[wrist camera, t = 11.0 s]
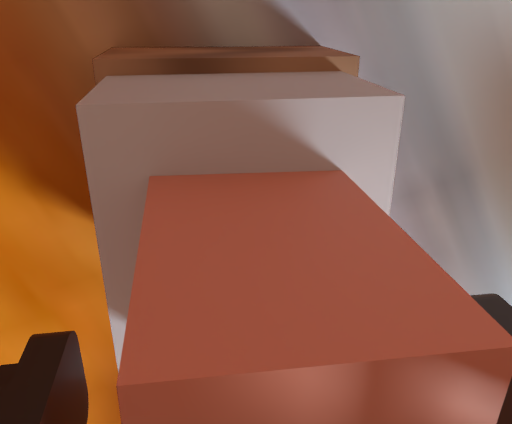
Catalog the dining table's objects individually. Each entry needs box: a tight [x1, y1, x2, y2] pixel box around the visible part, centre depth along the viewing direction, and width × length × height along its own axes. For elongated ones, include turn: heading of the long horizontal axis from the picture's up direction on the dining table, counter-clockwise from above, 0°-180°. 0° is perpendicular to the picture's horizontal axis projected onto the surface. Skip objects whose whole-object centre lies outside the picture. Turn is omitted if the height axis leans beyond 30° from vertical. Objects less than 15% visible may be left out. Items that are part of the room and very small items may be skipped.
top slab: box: [76, 71, 405, 373], centre depth 15 cm, size 8×8×5 cm
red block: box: [117, 170, 512, 424], centre depth 10 cm, size 5×5×7 cm
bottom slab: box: [92, 46, 360, 85], centre depth 19 cm, size 9×9×5 cm
